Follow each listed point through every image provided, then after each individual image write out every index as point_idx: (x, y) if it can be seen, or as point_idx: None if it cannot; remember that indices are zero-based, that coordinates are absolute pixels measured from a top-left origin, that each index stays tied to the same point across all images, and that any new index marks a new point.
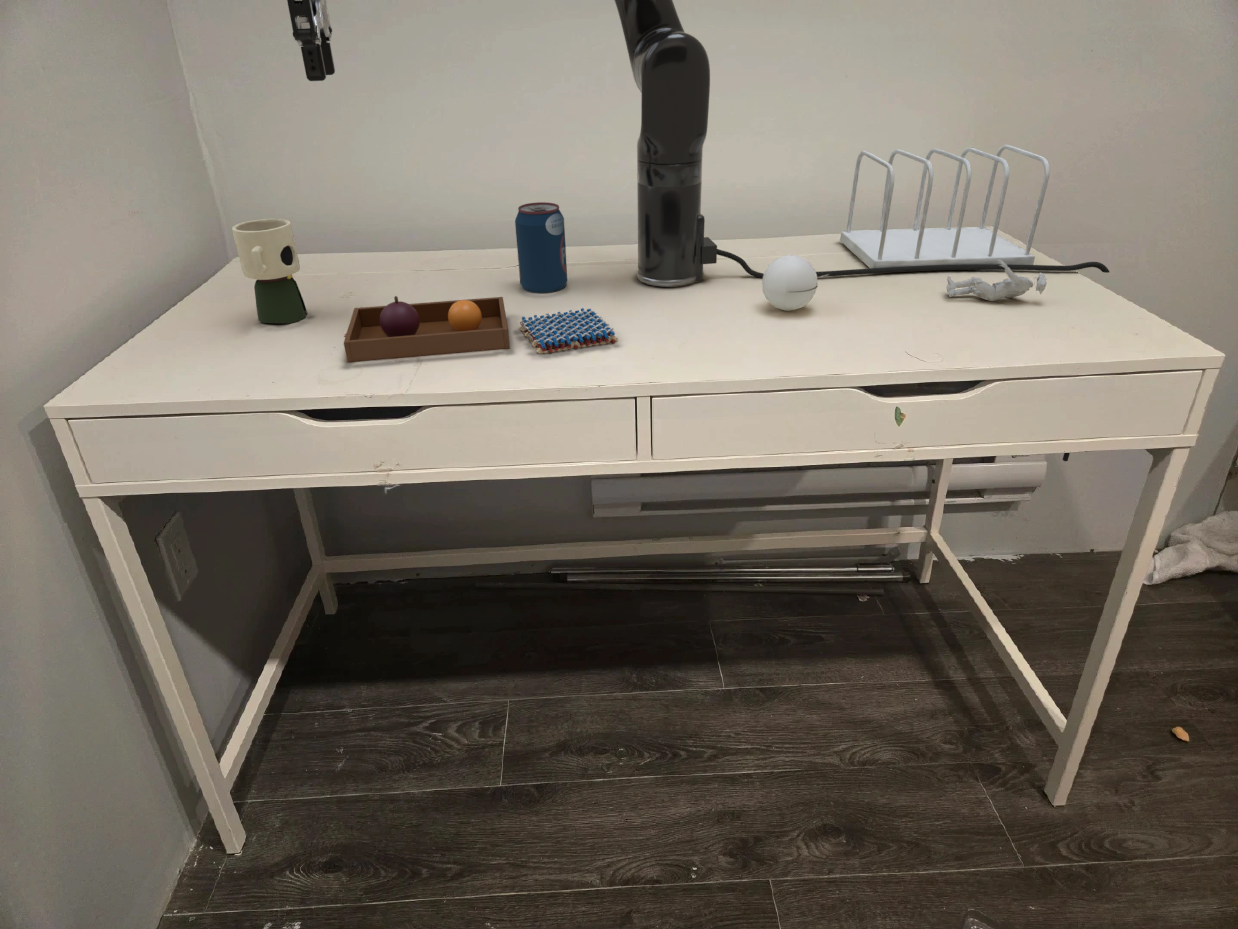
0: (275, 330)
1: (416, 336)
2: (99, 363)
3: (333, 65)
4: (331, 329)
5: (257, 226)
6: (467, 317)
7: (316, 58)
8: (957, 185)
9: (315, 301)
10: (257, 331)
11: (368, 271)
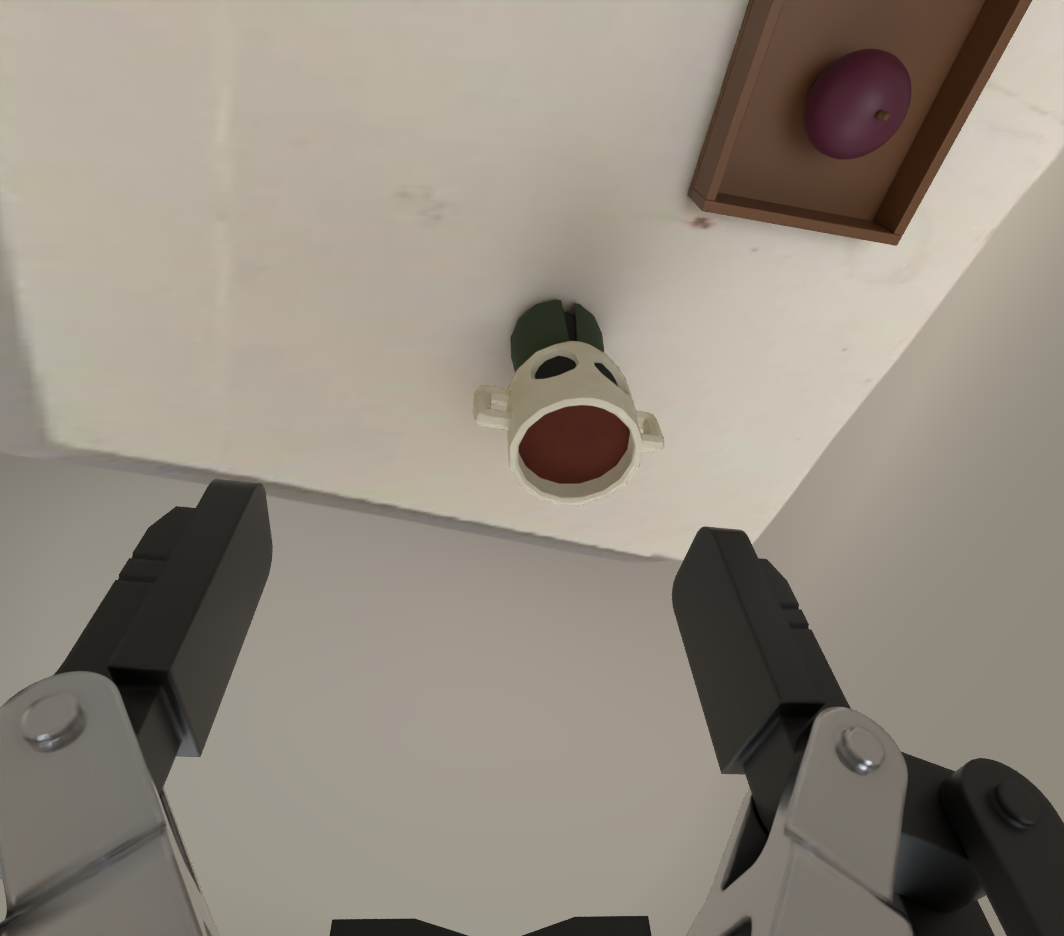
0: None
1: (988, 77)
2: (619, 550)
3: (238, 514)
4: (647, 252)
5: (518, 458)
6: None
7: (815, 650)
8: None
9: (445, 280)
10: None
11: (208, 130)
